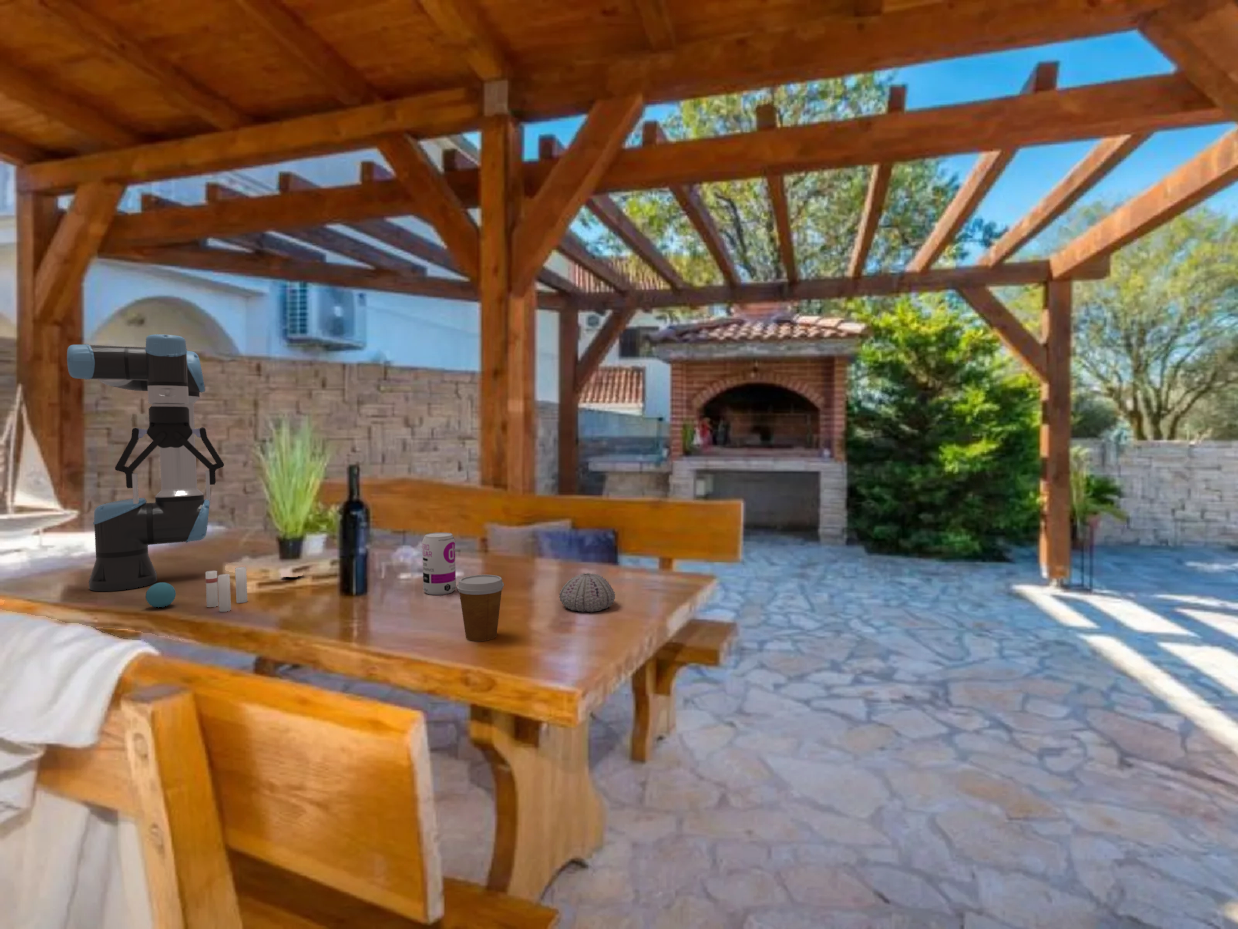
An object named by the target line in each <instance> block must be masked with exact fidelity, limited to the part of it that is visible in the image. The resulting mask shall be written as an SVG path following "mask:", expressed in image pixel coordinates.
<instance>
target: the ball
mask: <svg viewBox="0 0 1238 929" xmlns="http://www.w3.org/2000/svg"><path fill="white" fill-rule="evenodd" d="M176 594H177V592H176V589H175V587H174V586H173V585H172V584H170V583H168V582H165V581H164V582H156V583H154V584H151V585H150V587H149V588H148V589H147V591H146V593H145V600H146V601H147V603H148V605H150V606H152V607H153V608H156V607H158V608H159V607H162V608H166V607H168V606H170V605H171V604H172V603H173V602H174V600H175V599H176ZM165 606H166V607H165ZM159 609H160V608H159Z"/></svg>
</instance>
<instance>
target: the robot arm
mask: <svg viewBox="0 0 1238 929" xmlns="http://www.w3.org/2000/svg"><path fill="white" fill-rule="evenodd" d="M186 342H187V341H186V338H184V337H183V336H180V335H175V334H160V333H159V334H150V335H147V336H146V338H145V346H143V347H142V346H141V347H140V346H117V345H115V346H114V345H96V344H86V343H84V344H71V345H69V346H68V347H67V349H66V351H67V352H66V362H67V363H66V364H67V370H68V374H69V376H70V377H72V378H74V379H79V380H81V379H84V380H98V381H99V382H100V383H102V384H104V385H106V386H110V387H113V388H117V389H123V390H127V391H134V392H135V391H138V392H147V402H148V404H149V405H150V406H149V408H148V428H146V429H145V428H139V427H134V428H132V430H131V437H130V440H129V441H128V444H127V445H126V447H125V448H124V451H123V452H122V454H121V456H120V458H119V460H118V461H117V463H116V465H115V467H114V469H115V471H118V472H122V473H124V474H125V486H126V488H127V489H132V498H128V499H120V500H117V501H116V500H115V501H111V502H106V503H103V504H100V505H98V506H96V507H95V509H94V510H93V522H92V523H93V524H92V525H93V526H94V541H95V542H94V546H95V548H94V549H95V562H94V565H93V568H92V571H91V574H90V576H89V580H88V587H89V588H88V589H89V590H91V591H94V592H113V591H114V592H117V591H125V590H126V589H127V590H133V589H139V588H144V587H147V586H152V585H154V584H156V583H158V574H157V571H156V569H155V566H154V564H153V562H152V560H151V558H150V556H149V546H150V545H151V546H152V545H163V544H176V543H190V542H199V541H202V540H204V539H205V538H206V536H207V532H208V525H209V524H208V523H209V516H210V515H209V514H210V505H211V504H210V503H211V502H210V501H211V486H212V485H214V486H215V484H216V482H217V481H216V471H217V470H218V469H223V468H224V466H225V463H224V462H223V460H222V459H221V457H220V455H219V454H218V452H217V450H216V448H215V447H214V445H213V444H212V443H211V441H210V439H209V437H208V434H207V430H206V428H205V427H198V428H196V427H195V426H196V425H195V424H196V423H195V406H194V405H195V404H196V403H197V402H198V401H199V400H200V398H201V397H200V395H201V394H200V393H205V391H206V387H205V386H206V385H205V382H204V375H203V374H204V373H203V369H202V364H201V361H200V356H199V355H198V354H197V353H196V351H192V350H188V349H187V343H186ZM145 435H147V436H148V437H149V438H150V439H151V440H152V442H150V444H148V445H147V447H146V448H144V450H143V451H142V452H141V453H140V454H139V455H138V456H137V457H136V458H135V459H134V460H132V462H131V464H129V466H125V465H126V464H127V462H128V460H129V458H130V457H131V455H132V453H133V452H134V449H135V448H136V446H137V444H138V442H139V441H140V440H139V439H142V438H144V436H145ZM196 437H197V438H201V441H202V442H203V444H204V446H205V448H206V449H207V451H208V452H209V454H210V455H211V457H212V458H213V460H214V462H215V463H214V464H213V463H212V462H211V461H210V460H209V459H208V458H207V457H206V456H205V455H204V454H203V453H201V452H200V450H198V449H197V448H196ZM157 447H159V465H160V485H161V486H160V487H161V488H160V491H159V492H158V493H157V494H156V495H154V500H155V501H154V502H148V501H147V500H146V498H145V497H140V496H139V478H138V477H139V476H138V472H134V471H135V470H136V469H137V468H138V467H139V466H140V465H141V464H142V463H143V462H144V461H145V459H146V458H147V457H149V455H150V454H151V453H153V451H154V450H155V449H156V448H157ZM197 460H198V461H199V462H201V464H203V465H204V466H205V467H206V468H207V469H208V470H204V471H205V473H204V474H205V490H206V491H205V493H204V492H203V491H201V490H200V489H199V488H198V480H197V479H198V475H197ZM204 494H206V495H204ZM205 496H206V498H204V497H205ZM143 586H144V587H143ZM138 587H139V588H138Z"/></svg>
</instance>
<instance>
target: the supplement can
mask: <svg viewBox="0 0 1238 929" xmlns="http://www.w3.org/2000/svg"><path fill="white" fill-rule="evenodd" d="M421 545H422V546H421V548H422V549H421V550H422V551H421V552H422V587H423V588H422V590H423V592H425V594H426V595H427V594H428V595H430V596H441V595H448V594H451V593H453V592H454V590H456V589H457V584H456V581H457V580H456V579H457V578H456V574H457V573H456V570H457V569H456V540H455V538H454V536H453V533H451V532H432V533H431V532H430V533H427V534H425V535H424V537H423V539H422V540H421Z"/></svg>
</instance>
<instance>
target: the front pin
mask: <svg viewBox="0 0 1238 929" xmlns="http://www.w3.org/2000/svg"><path fill="white" fill-rule="evenodd" d="M204 573H205V595H206V608H207V607H214V608H217V607H216V606H218V607H219V593H218V570H207V571H205V572H204Z"/></svg>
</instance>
